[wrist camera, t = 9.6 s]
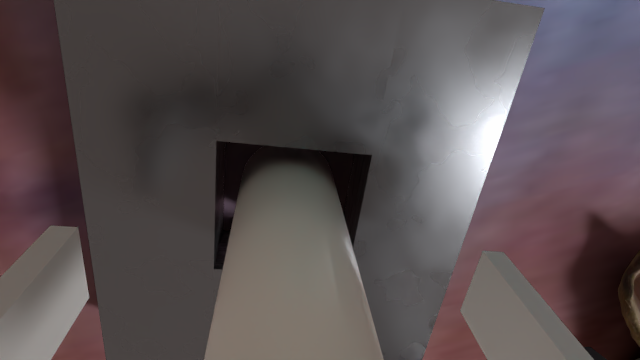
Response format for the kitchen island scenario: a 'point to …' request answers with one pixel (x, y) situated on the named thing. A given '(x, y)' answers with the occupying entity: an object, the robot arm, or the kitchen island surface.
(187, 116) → the block
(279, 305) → the white tapered capsule
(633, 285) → the ceramic sculpture
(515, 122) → the kitchen island surface
